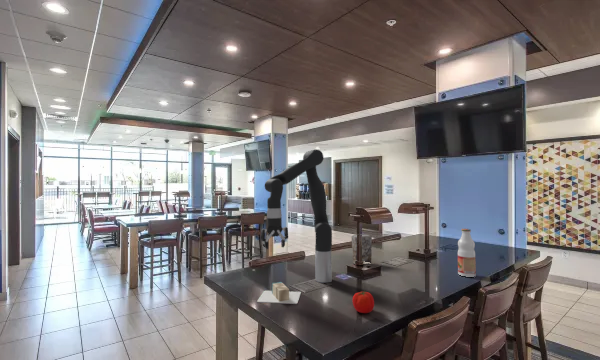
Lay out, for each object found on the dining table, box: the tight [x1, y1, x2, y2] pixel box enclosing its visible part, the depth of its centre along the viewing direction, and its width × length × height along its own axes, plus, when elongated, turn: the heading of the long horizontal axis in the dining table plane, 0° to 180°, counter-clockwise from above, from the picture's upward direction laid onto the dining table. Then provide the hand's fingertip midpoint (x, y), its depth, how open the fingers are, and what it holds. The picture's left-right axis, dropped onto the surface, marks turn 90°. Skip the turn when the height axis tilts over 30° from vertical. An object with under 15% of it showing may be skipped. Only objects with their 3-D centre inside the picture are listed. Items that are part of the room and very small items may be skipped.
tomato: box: [352, 289, 375, 314], centre depth 131 cm, size 9×10×8 cm
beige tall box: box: [271, 281, 290, 301], centre depth 149 cm, size 5×5×12 cm
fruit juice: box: [457, 228, 477, 278], centre depth 183 cm, size 9×9×28 cm
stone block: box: [351, 234, 373, 264], centre depth 212 cm, size 13×7×20 cm, turn 116°
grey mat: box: [256, 290, 302, 305], centre depth 149 cm, size 19×15×1 cm
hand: (274, 248), depth 159 cm, fingers open, 8 cm apart
